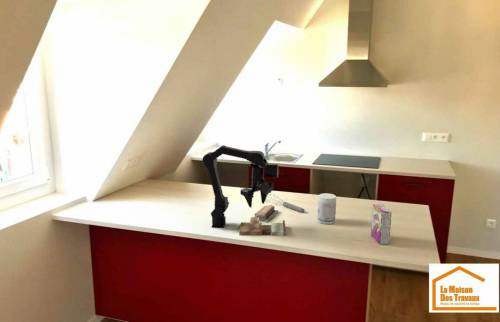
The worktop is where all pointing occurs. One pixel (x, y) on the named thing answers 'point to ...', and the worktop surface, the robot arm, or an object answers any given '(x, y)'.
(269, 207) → the packaged product
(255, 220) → the birch block
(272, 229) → the trap deck
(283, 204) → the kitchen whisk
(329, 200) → the supplement tub
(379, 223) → the candy bar box
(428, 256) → the worktop surface
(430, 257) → the worktop surface
